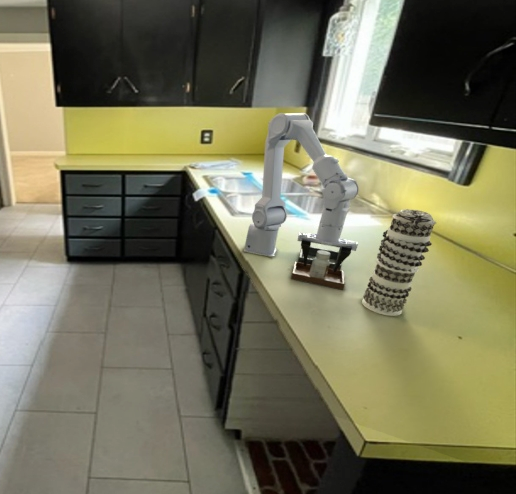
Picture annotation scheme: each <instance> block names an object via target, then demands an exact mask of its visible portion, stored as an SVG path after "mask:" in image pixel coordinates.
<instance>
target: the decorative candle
mask: <svg viewBox="0 0 516 494" xmlns="http://www.w3.org/2000/svg"><path fill="white" fill-rule="evenodd" d="M391 217H392V220H391V222H390V226H389V227H388V229H386V230H385V231H383V233H382V237H383V239H381V240H380V245H379V248H378V251H379V252H378V253H377V255H376V259H375V262H376V265H375V270H373V272H372V274H371V276H370V277H369V282H368V284H367V288H366V289H365V291H364V294H363V296H362V297H363V299H362V300H361V303H362V305H363V306H364V307H365V308H366V309H368V310H370V311H372V312H374V313H376V314H380V315H383V316H387V317H388V316H391V317H396V316H400V315H402V313H403V309H405V304H407V301H408V300H407V298H408V297H409V295H410V293H409V292H411V291H412V284H413V281H414V280H413V278H414V277H415V274H416V273H418V272H419V271H420V267H421V266H423V263H422V261H424V260H425V259H426V257H425V256H424V253H428V252H430V250H429V248H428V247H430V246H432V244H433V243H432V242H431V241H430V239H431V237H432V235H431V234H432V232H433V229H434V226H435V225H436V224H437V221H436V220H434V218H433V216H432V214H430V213H429V212H427V211H422V210H418V209H408V208H407V209H401V210H399V211H398V212H397V213H394V214H392V215H391Z"/></svg>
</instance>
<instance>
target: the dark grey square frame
mask: <svg viewBox="0 0 516 494" xmlns="http://www.w3.org/2000/svg"><path fill="white" fill-rule="evenodd" d="M319 250H324V251H327V252H329V253H330V258H329V259H328V260H329V261H330V265H329V268H331V269H333V268H334V265H335V262H331V261H336V260H337V256H338V253H339V250H332V249H327V248H321V247H315V246H310V250H309V254H308V258H307V264H311V265H312V261H313V259H314V258H315V257H316V253H317V251H319ZM310 257H313V258H310ZM297 262H301V263H304V257H303V251H302V248H301V247H300V251H299V256H298V260H297ZM341 269H342V264H341V265H340V266H339V267H338V269H337V270H341Z"/></svg>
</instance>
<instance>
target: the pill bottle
mask: <svg viewBox="0 0 516 494" xmlns="http://www.w3.org/2000/svg"><path fill="white" fill-rule="evenodd" d="M329 258H330V253H329V252H327V251H324V250H319V251H317V253H316V257H313V258H312V259H313V261H312V265H311V269H310V273H309V275H310V276H312V277H317V278H322V279H325V278H326V276H327V272H328V269H329V265H330V262H331V260H330V259H329Z"/></svg>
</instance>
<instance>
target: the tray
mask: <svg viewBox="0 0 516 494" xmlns="http://www.w3.org/2000/svg"><path fill="white" fill-rule="evenodd" d="M303 265H304V263H301V262H298V261H294V265H293V268H292V273H291V277H290V279H291V280H293V281H300V282H304V283H309V284H313V285H317V286H323V287H327V288H332V289H335V290H340V291H344V288H345V285H346V282H345V271H344V270H341V269H340V270H337V271H336V272H333V269H331V268H329V269H328V272H327V276H326V278H325V279H322V278H317V277H312V276H310V275H309V273H310V269H311V264H306V266H303Z"/></svg>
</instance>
